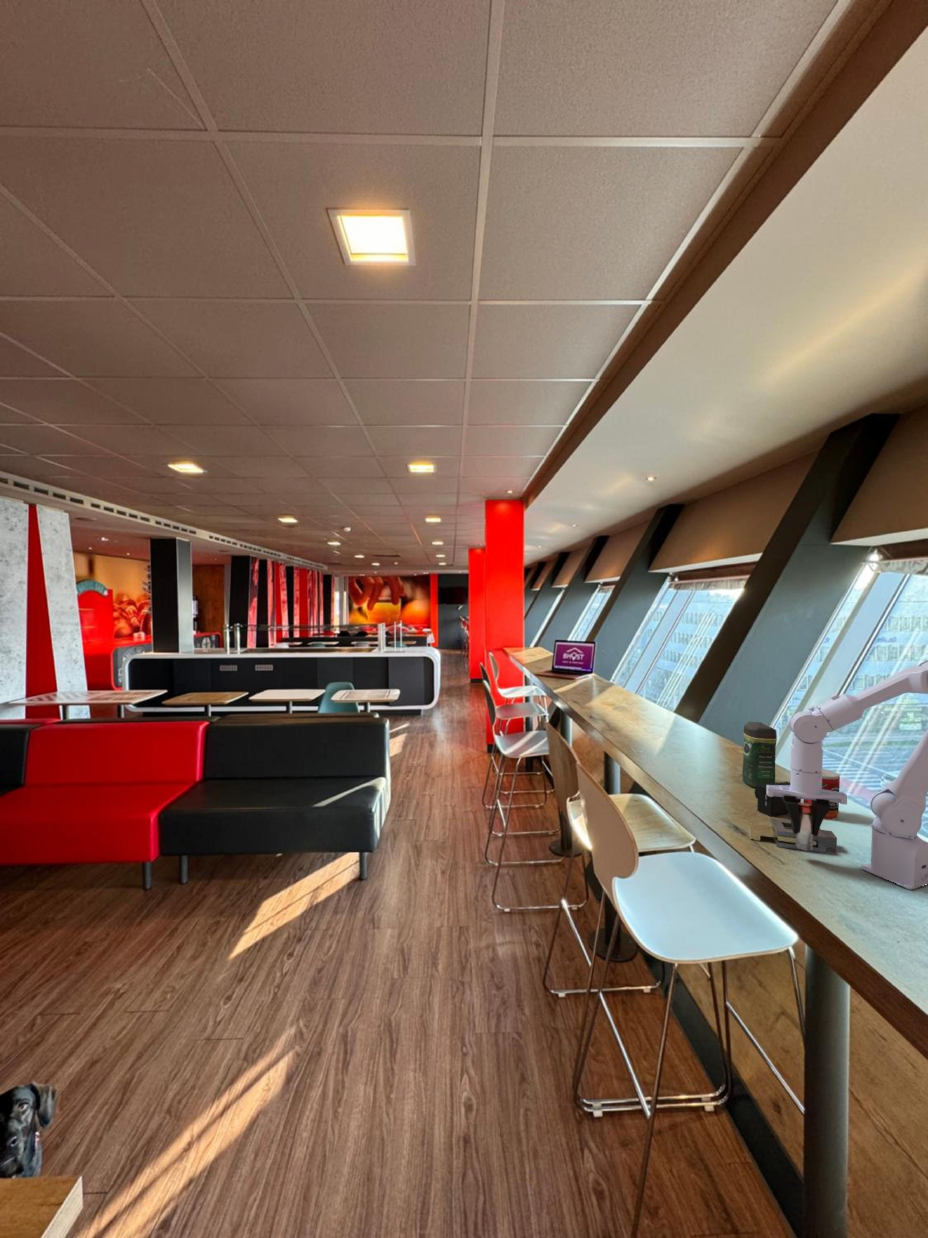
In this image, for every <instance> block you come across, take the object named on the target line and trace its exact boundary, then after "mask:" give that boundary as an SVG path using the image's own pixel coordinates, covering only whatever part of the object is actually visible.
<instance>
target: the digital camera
mask: <svg viewBox="0 0 928 1238" xmlns="http://www.w3.org/2000/svg"><path fill="white" fill-rule="evenodd" d="M767 785H790V781H783V782H782V781H781V782H775V783H773V784H763V783H761V784H759V785H757V787H755V789H754V796H755V798H756V799H757V805H756V806H757V812H758V811H759V812H758V813H761V814H763V815H766V816H768V817H770V818H774V817H778V816H779V817H780V816H785V815H786V816H787V815H789V813H788V810H787V808H786V805H785V803H784V801H783V799H782V797H779V796H773V797H770V796H768V795H767V794H766V789H767ZM796 799H797V800H798V803H802V799H798V798H796Z"/></svg>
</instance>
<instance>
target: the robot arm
mask: <svg viewBox="0 0 928 1238" xmlns="http://www.w3.org/2000/svg"><path fill="white" fill-rule="evenodd" d="M907 693H908V694H922V695H923V694H924V695H928V660H927V659H925V660H924V661H922V662H920V663H919V664H918V665H917V664H914V665H911V666H909V667H908V666H907V668H904V669H903V670H901V671H899V672H896V673H895V674H893V675H890V676H889V677H887V678H885V679H884V680H882V681H879V682H877V683H875V684H874V685H871V686H869V687H867V688H866V689H864V690H862V691H860V692H858V693H856V694H854V695H851V694H849V693H848V694H847V693H841V694H839V695H838V694H837V693H834V694H832V695H830V696H829V697H830V699H829V700H827V701H824V702H822V703H821V704H818V705H816V706H813V705H811V706H808V707H807V709H808V711H804V710H803V711H798V712H796V713H795V714H794V715H793V716H792V717H791V719H790V721H789V723H788V724H789V728H790V730H791V732H792V737H791V747H790V749H791V750H790V781H789V782H790V785H767V789H766V794H767V795H768V796H770V797H773V796H779V797H782V799H783V801H784V803H785V805H786V808H787V810H788V813H789V814H788V816H789V820H791V825H792V831H793V833H795V834H798V812H799V804H798V800H797V799H796V798H798V799H801V800H804V799H807V800H811V802H812V805H813V806H814V813H813V835H814V836H818V832H819V829H821V825H822V823H823V821H824V820H825V819H824V818H825V816H826V815H827V813H828V812H829V811H830V808H831V805H830V804H829V802H836V803H839V804H840V805H848V795H847V794H846V793H845V792H841V791H839V792H835V791H830V790H824V789H822V769H823V757H824V755H823V753H824V750H823V740H824V739H825V738H826V737H827V734H828V733H833V732H834V731H836V730H839V729H841V728H843V727H846V726H848V725H850V724H852V723H854V722H858V721H859V720H860V719H861V720H862V718H863V714H864V712H865V710H867V709H870V708H872V707H875V706H877V705H880V704H882V703H885V702H887V701H889V700H891V699H895V698H896V697H900V696H902V695H904V694H907ZM927 794H928V728H927V730H926V731H925V732H924V734H923V735H922V737H921V739H920V740H919V742H918V743H917V745H916V747H914V749H913V751H912V753H911V755H910V756H909V758H908V759H907V761H906V762H905V764H904V766H903V767H902V769H901V771H900V772H899V774H898V775H897V777H896V778H894V779H893V780H891V781H889V782H888V783H887V784H886V785H885V787H884V788H883V789H882V790H880V791H879V792H876V793H875V794H874V795H873V796H872V797H871V799H870V803H869V807H870V809H871V812H872V813H873V814H874V816H875V818H874V820H873V822H872V823H871V843H870V844H871V845H870V848H871V850H870V863H867V864H863V865H860V869H861V870H863V871H866V872H868V873H870V874H872V875H875V876H877V877H879V878H881V877H882V878H881V879H884V880H887V881H888V880H889V882H891V883H893V882H894V883H893V884H895V883H896V885H898V886H900V885H901V886H900V887H902V886H903V888H905V889H907V890H914V889H915V890H916V889H918V887H919V888H921V887H920V886H922V887H924V886H923V885H925V884H928V842H927V841H925V840H924V839H922V838H921V837H919V835H918V832H920V831H921V828H922V823H923V822H922V821H923V820H922V819H923V818H922V817H923V815H924V812H925V811H926V810H927Z"/></svg>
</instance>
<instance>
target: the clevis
mask: <svg viewBox="0 0 928 1238" xmlns="http://www.w3.org/2000/svg"><path fill="white" fill-rule="evenodd" d="M769 822H770V824H771V826H769V825H768V826H767V825H761V824H754V823H752V824H751V823H748V825H747V826H748V827H747V830H748V831H747V834H749V835H748V837H749V839H750V840H751V839H754V840H753V841H760V842H761V836H763V837H771V838H772V839H773V842H774V844H775V846H776V848H784V849H791V850H798V851H805V852H814V853H820V854H827V851H830V852H837V848H838V847H837V845H838V844H837V843H838V841H837V840H838V838H837V836H836V835H835V833H834V832H833V831H832V830H825V829H821V828H820V829H819V832H818V836H814V835H813V849H812V850H802V849H799V848H798V847H796V834H795V833H793V831H792V825H791V820H790V819H781V818H775V817H770V821H769Z"/></svg>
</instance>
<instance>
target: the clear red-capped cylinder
mask: <svg viewBox="0 0 928 1238" xmlns="http://www.w3.org/2000/svg"><path fill="white" fill-rule="evenodd" d="M798 804H799V812H798V834H796V847H798V848H799V849H802V850H801V851H804V850H812V849H813V813H814V806H813V805H811V804H807V803H803V802H801V803H798Z"/></svg>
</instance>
